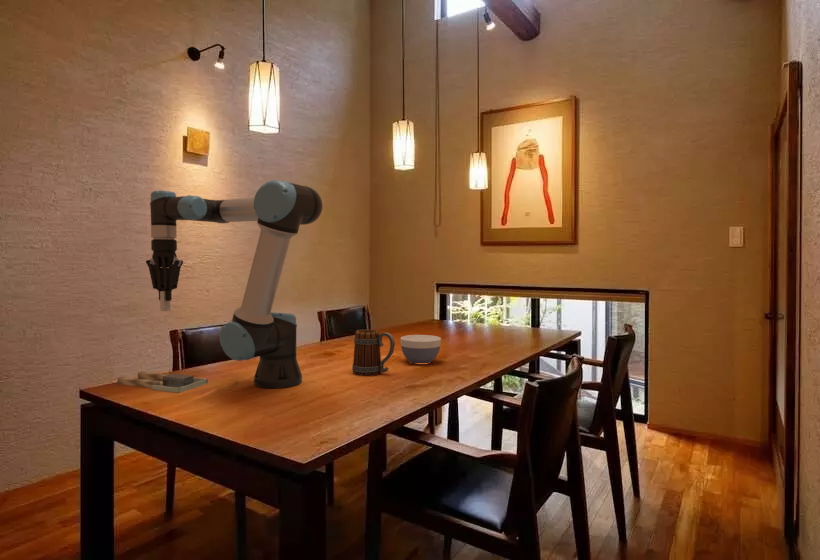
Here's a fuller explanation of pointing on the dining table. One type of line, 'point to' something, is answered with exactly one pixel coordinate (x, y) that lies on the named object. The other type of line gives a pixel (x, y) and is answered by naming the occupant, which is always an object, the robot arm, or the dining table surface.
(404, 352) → the bowl
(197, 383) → the grey rectangular frame
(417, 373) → the dining table surface
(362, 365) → the mug
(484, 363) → the dining table surface
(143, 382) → the slot board
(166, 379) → the chip
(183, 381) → the chip
